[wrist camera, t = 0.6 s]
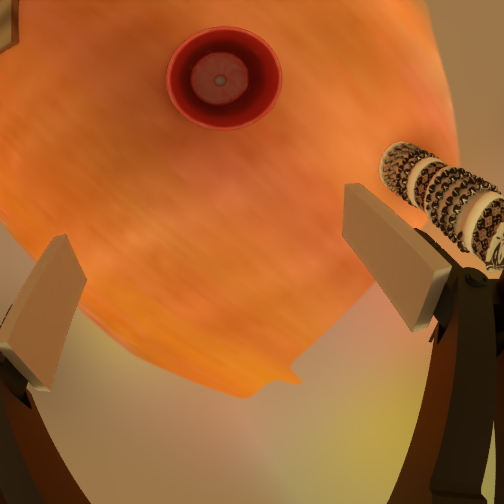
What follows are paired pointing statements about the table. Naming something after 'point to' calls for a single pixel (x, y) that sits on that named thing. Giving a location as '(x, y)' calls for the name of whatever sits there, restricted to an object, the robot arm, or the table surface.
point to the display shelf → (8, 24)
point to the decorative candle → (449, 200)
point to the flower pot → (224, 78)
